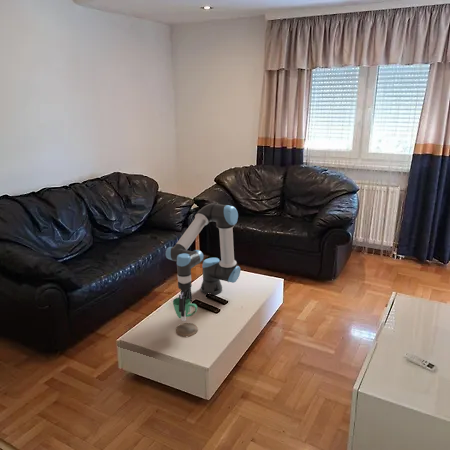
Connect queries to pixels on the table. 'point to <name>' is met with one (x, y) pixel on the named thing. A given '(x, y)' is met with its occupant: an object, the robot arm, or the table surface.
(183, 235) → the robot arm
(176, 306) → the mug
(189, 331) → the plate
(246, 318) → the table surface
